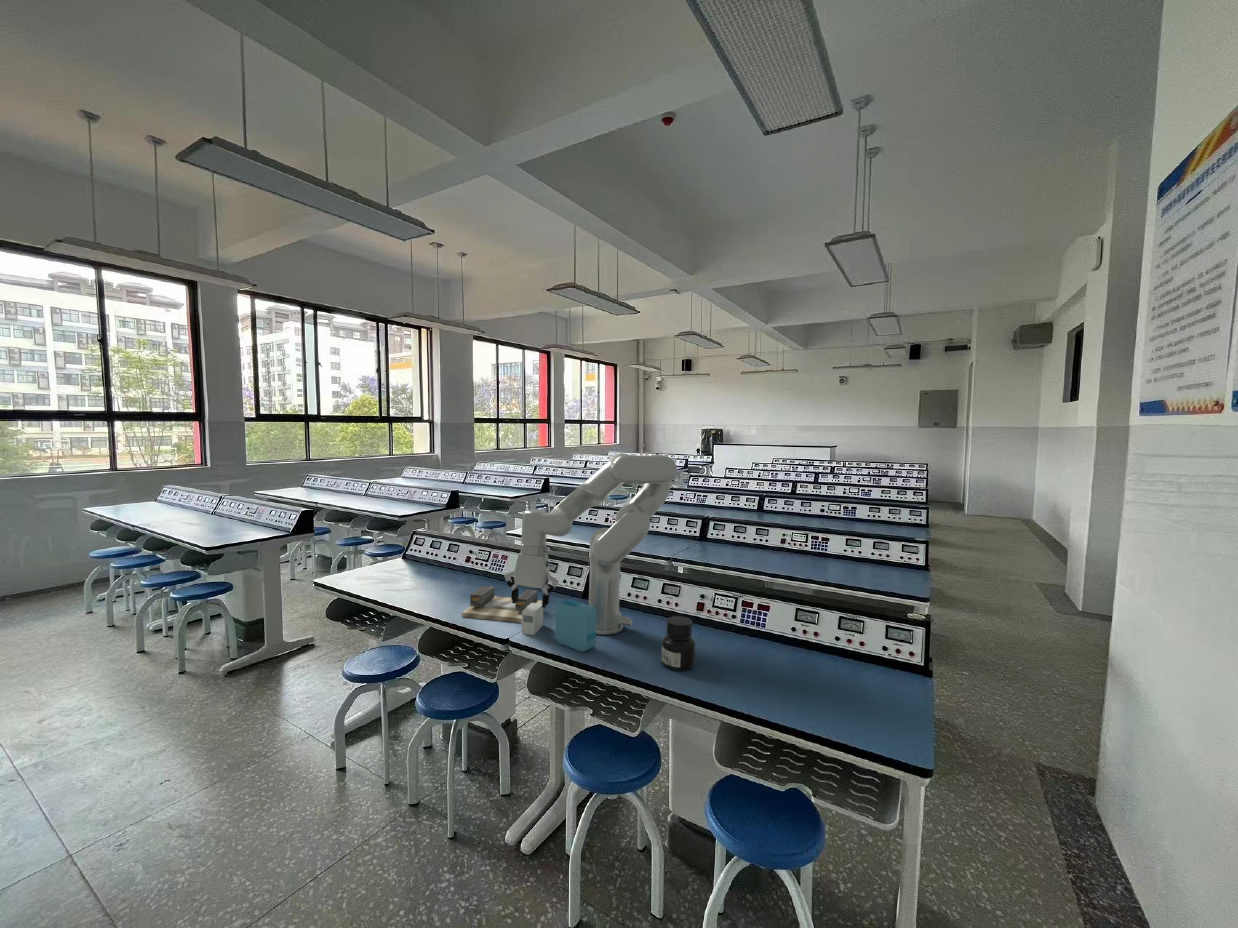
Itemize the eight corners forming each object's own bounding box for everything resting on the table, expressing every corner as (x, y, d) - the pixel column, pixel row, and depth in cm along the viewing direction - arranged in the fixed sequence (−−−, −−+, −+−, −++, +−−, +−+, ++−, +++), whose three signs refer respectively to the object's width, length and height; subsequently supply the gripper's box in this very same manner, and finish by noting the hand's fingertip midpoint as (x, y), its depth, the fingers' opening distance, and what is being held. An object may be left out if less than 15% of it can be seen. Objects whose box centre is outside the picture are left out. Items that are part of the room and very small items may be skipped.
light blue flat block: (596, 648, 144) (597, 607, 144) (585, 653, 141) (586, 611, 140) (565, 637, 152) (566, 598, 151) (555, 641, 148) (555, 601, 147)
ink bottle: (655, 658, 139) (656, 616, 138) (683, 654, 142) (685, 612, 141) (671, 674, 130) (672, 629, 129) (701, 670, 133) (703, 625, 132)
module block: (542, 625, 160) (543, 603, 160) (534, 635, 152) (534, 612, 152) (531, 624, 161) (531, 602, 161) (521, 633, 153) (521, 611, 153)
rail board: (543, 604, 179) (544, 587, 179) (525, 623, 162) (525, 603, 161) (485, 599, 183) (486, 582, 183) (461, 616, 166) (461, 597, 165)
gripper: (563, 550, 157) (560, 604, 158) (511, 544, 161) (508, 597, 161) (556, 555, 150) (552, 611, 151) (501, 549, 153) (498, 604, 154)
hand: (529, 604), depth 156 cm, fingers open, 9 cm apart
